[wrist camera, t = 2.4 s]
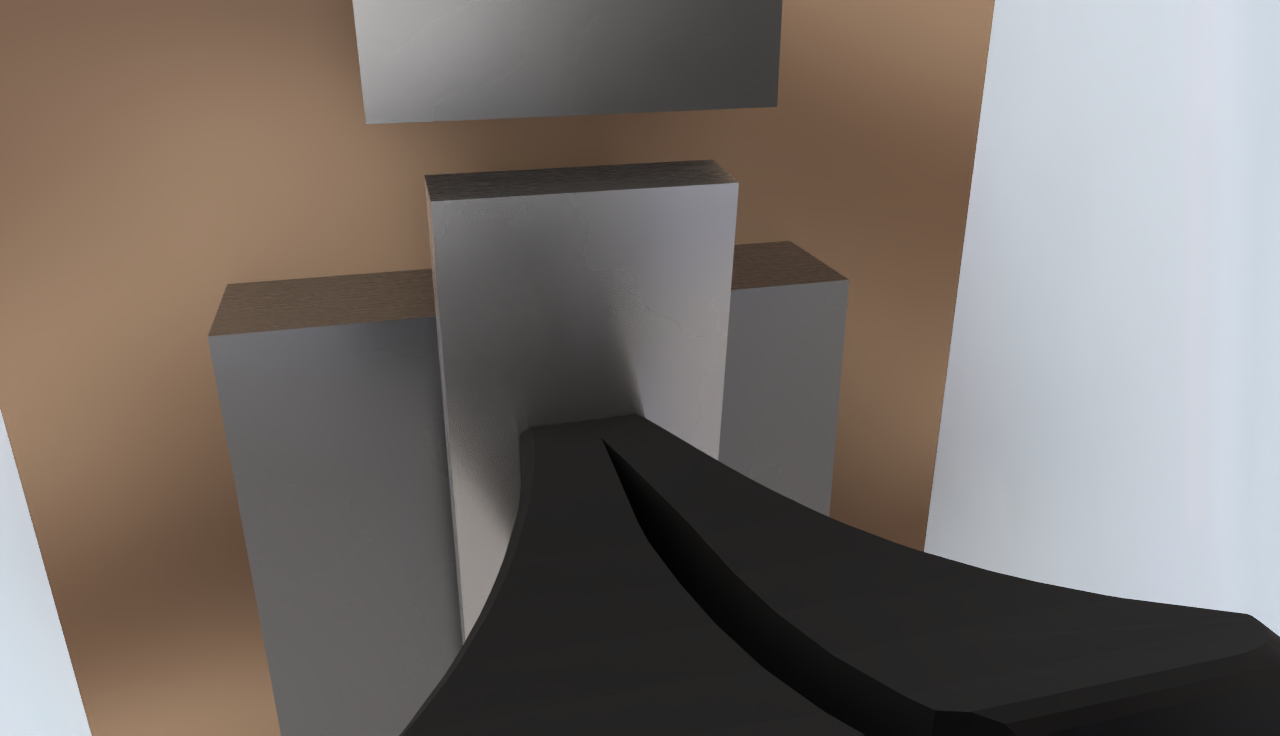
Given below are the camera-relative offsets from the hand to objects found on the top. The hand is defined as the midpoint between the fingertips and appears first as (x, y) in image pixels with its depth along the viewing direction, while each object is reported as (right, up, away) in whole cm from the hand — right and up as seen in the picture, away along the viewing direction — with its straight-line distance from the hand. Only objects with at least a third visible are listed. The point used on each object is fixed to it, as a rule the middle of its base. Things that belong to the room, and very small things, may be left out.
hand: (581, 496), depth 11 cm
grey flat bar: (0, -2, +2) cm, 3 cm away
